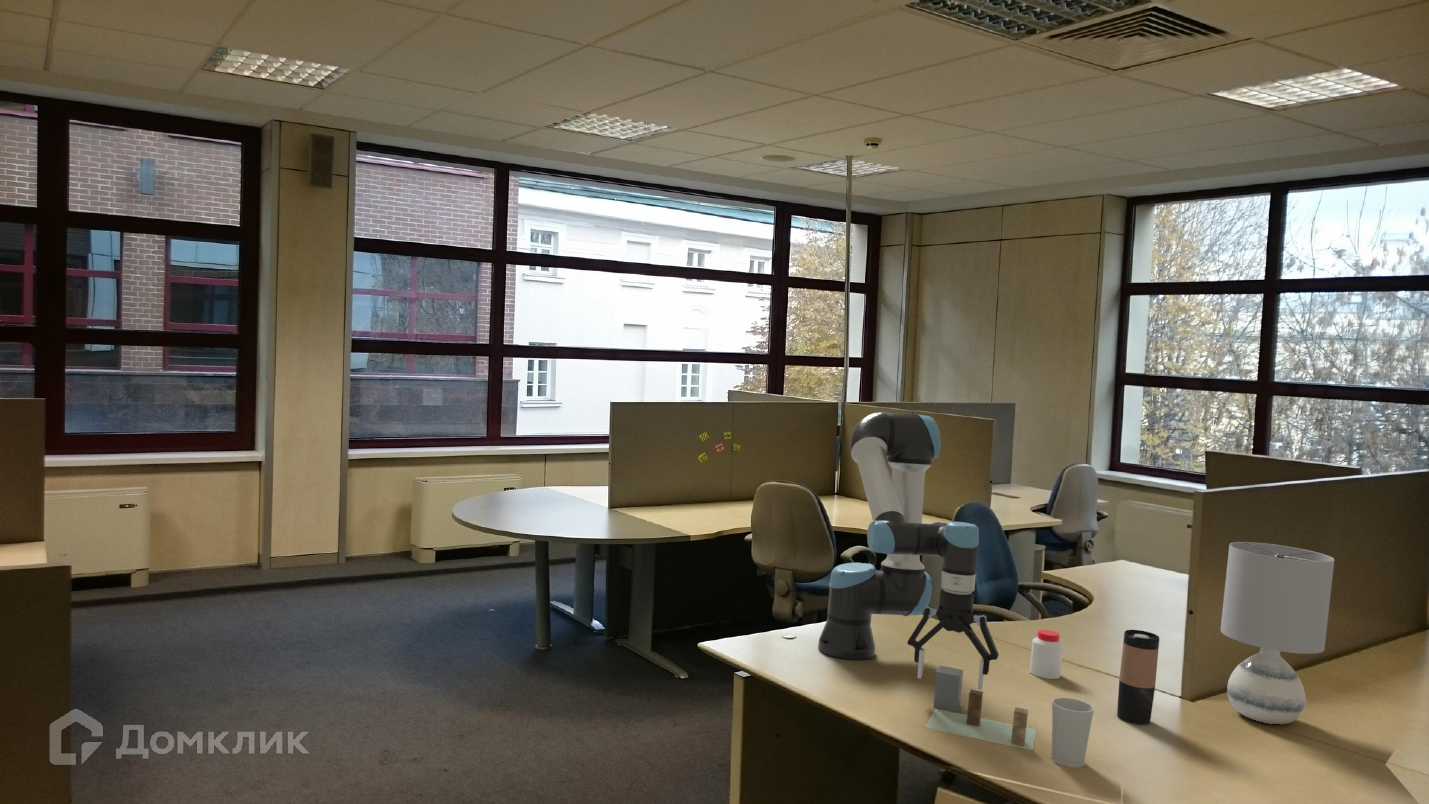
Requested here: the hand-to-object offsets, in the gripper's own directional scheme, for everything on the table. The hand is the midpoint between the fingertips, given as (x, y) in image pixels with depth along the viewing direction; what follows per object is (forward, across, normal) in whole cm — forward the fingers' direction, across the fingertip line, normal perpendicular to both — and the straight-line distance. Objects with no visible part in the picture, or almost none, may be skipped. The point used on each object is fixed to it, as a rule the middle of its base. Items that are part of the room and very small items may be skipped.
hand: (949, 682), depth 224 cm
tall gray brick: (+6, 0, 0) cm, 6 cm away
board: (+6, +9, -10) cm, 14 cm away
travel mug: (+6, +40, +18) cm, 44 cm away
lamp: (+6, +69, +38) cm, 79 cm away
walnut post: (+6, +7, -8) cm, 12 cm away
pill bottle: (+6, +19, +42) cm, 46 cm away
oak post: (+6, +17, -14) cm, 22 cm away
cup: (+7, +27, -18) cm, 33 cm away
